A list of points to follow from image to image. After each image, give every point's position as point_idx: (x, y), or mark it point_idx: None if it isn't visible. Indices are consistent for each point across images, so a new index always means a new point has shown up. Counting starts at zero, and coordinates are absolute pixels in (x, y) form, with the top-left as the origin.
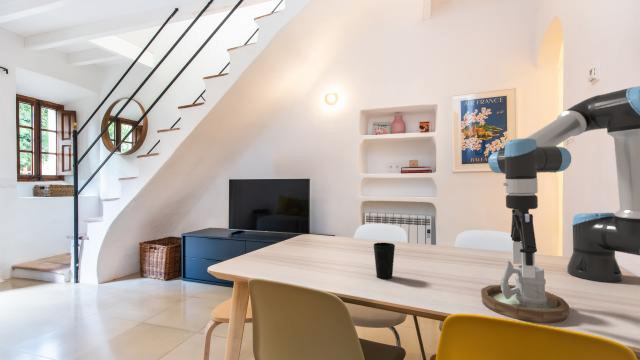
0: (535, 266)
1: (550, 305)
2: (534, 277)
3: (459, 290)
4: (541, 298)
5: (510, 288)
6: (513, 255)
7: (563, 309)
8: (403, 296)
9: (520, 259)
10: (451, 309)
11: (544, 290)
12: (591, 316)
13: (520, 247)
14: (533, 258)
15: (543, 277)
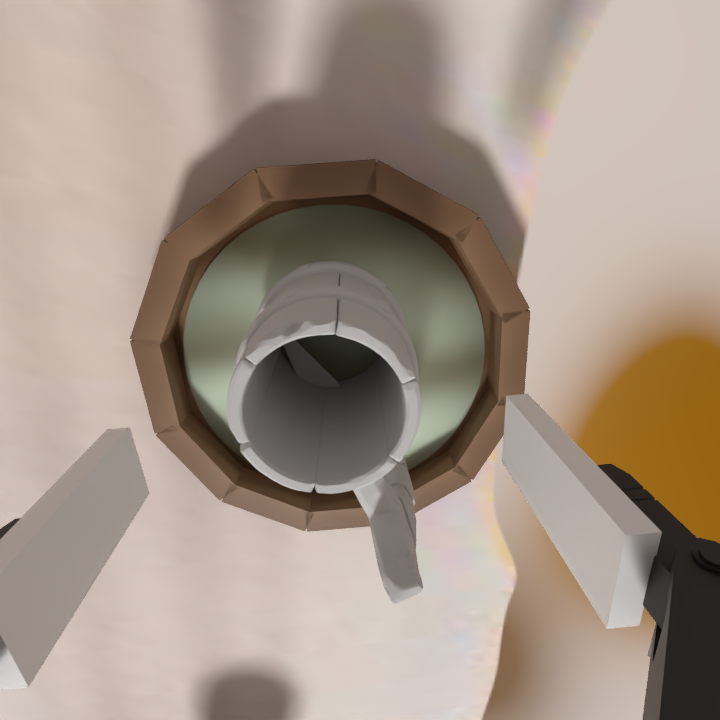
0: (251, 369)
1: (319, 239)
2: (527, 398)
3: (245, 574)
4: (386, 298)
5: (181, 407)
6: (117, 541)
7: (458, 205)
8: (416, 707)
9: (116, 471)
10: (481, 580)
11: (358, 287)
12: (322, 41)
13: (44, 561)
14: (614, 495)
15: (369, 313)
